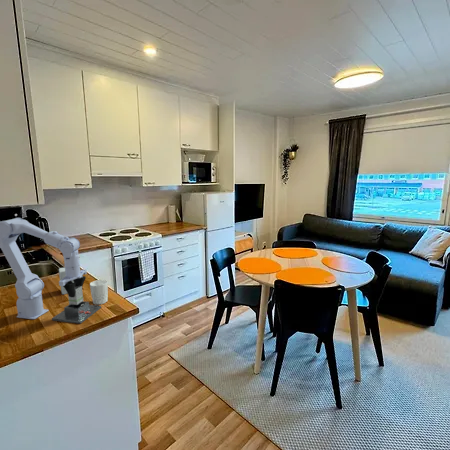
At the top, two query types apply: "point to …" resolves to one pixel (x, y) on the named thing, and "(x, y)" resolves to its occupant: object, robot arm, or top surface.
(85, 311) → the gray frame
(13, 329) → the top surface
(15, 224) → the robot arm
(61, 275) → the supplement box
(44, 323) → the top surface
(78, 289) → the steel column
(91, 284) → the white cup
